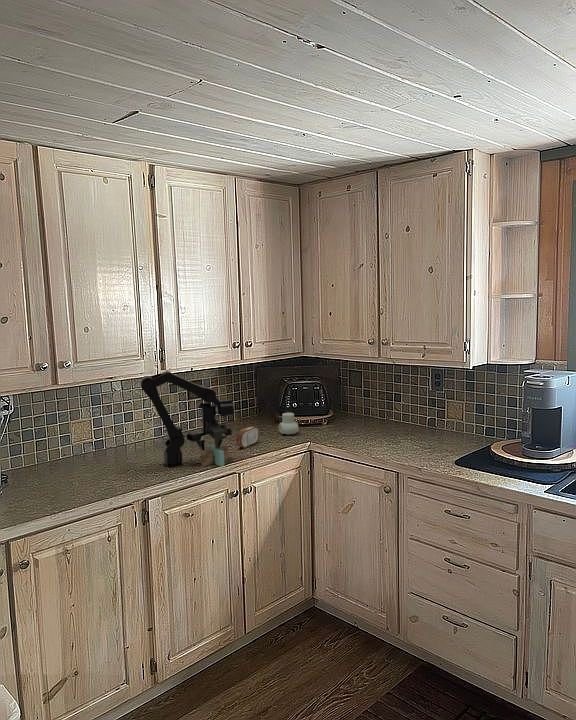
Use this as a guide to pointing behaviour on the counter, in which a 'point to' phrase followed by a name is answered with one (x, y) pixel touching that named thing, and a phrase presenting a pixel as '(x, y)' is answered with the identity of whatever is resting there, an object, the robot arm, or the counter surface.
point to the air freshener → (288, 424)
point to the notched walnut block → (208, 456)
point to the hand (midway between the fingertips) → (210, 453)
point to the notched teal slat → (217, 455)
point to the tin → (247, 436)
